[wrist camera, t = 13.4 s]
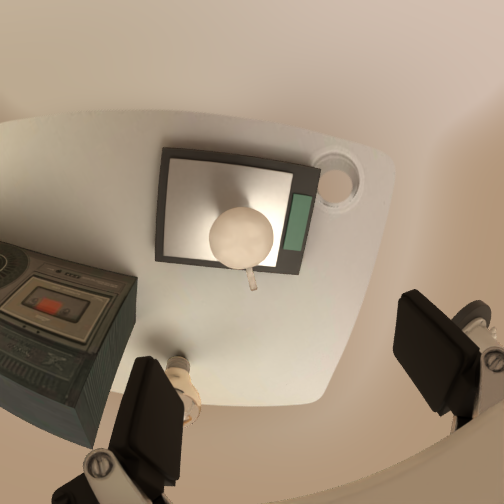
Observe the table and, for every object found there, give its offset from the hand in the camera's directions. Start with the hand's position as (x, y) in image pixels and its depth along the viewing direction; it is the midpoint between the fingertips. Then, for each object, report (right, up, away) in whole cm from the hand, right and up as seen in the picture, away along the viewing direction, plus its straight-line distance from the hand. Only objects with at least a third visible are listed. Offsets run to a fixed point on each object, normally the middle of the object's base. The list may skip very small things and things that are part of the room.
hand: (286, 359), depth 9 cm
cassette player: (-30, 0, +20) cm, 36 cm away
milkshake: (-3, +7, +18) cm, 19 cm away
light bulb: (-12, -12, +27) cm, 32 cm away
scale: (-3, +8, +20) cm, 22 cm away
